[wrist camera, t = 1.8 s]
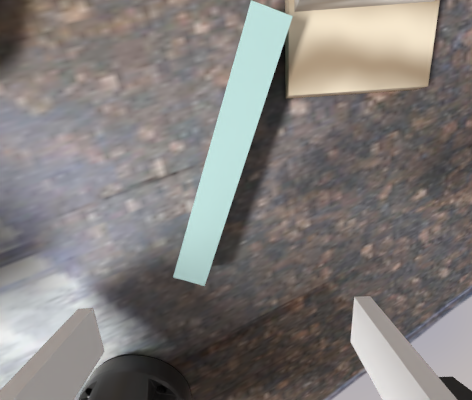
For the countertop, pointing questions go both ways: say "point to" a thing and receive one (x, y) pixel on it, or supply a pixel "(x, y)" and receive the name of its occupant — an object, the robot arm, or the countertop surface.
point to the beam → (232, 138)
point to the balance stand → (358, 46)
